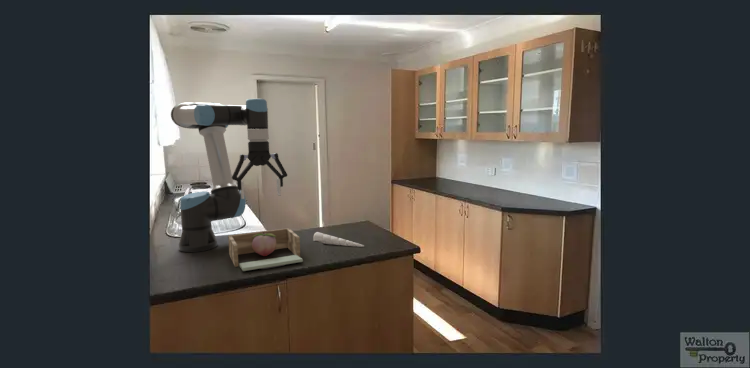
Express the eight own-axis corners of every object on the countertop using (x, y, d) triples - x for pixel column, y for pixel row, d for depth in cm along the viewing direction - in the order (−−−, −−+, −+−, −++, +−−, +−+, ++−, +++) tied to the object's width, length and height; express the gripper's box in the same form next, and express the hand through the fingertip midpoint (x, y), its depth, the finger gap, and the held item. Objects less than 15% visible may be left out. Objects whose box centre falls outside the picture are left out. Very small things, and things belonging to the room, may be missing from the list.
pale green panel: (239, 263, 149) (242, 268, 141) (296, 254, 158) (302, 258, 150) (239, 267, 149) (243, 272, 141) (296, 258, 158) (302, 263, 150)
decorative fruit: (278, 252, 165) (277, 227, 164) (276, 258, 157) (275, 233, 156) (254, 253, 164) (252, 229, 162) (251, 260, 156) (249, 234, 154)
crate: (229, 257, 162) (228, 235, 161) (289, 249, 173) (288, 228, 172) (235, 270, 148) (233, 245, 147) (300, 259, 159) (299, 237, 157)
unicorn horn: (360, 249, 171) (360, 238, 170) (312, 244, 181) (311, 233, 180) (365, 246, 175) (365, 235, 175) (318, 241, 185) (317, 230, 185)
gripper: (288, 139, 163) (290, 192, 166) (221, 141, 152) (225, 198, 155) (293, 140, 156) (296, 195, 159) (224, 142, 146) (228, 201, 148)
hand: (261, 196), depth 157 cm, fingers open, 13 cm apart
